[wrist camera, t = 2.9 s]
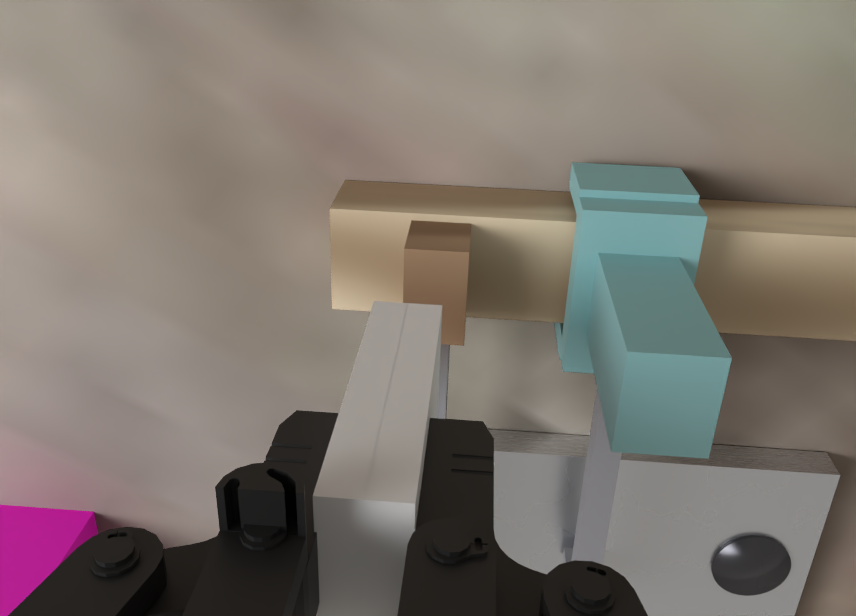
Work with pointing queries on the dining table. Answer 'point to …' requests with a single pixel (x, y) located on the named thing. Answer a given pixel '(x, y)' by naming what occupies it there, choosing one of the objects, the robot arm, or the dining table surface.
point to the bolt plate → (673, 520)
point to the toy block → (36, 547)
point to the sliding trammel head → (638, 329)
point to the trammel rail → (552, 252)
